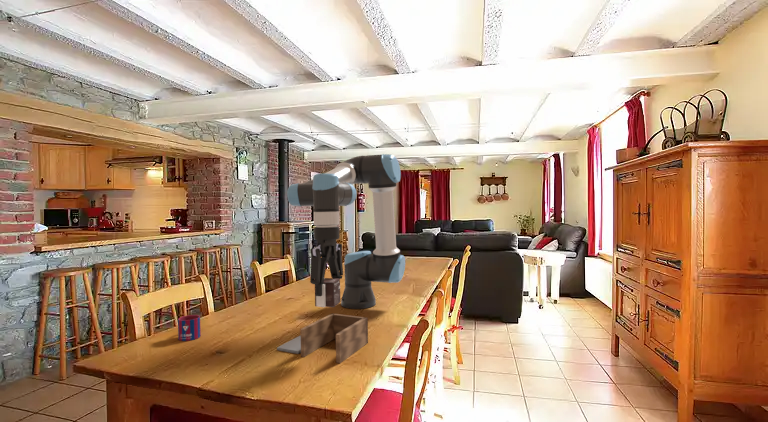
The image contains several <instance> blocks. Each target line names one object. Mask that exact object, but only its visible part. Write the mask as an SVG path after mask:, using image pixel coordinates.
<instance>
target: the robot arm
mask: <svg viewBox="0 0 768 422" xmlns="http://www.w3.org/2000/svg"><path fill="white" fill-rule="evenodd" d="M401 175H402V174H401V167H400V163H399V161H398V158H397V157H396V156H395V155H394V154H390V153H389V154H387V153H386V154H385V153H382V154H369V155H368V154H367V155H359V156H354V157H351V158H349V159H346V160H344V161H342V162H339V163H338V164H337V165H336V166H335V167H334V168H333V169H331V170H329V171H327V172H324V173H317V174H314V175H313V177H312V178H311V179H310V180H308V181H305V182H303V183H300V182H298V183H292V184H290V185H289V186H288V188H287V192H286V196H287V201H288V203H289V205H291V206H293V207H300V208H301V207H313V225H314V228H313V239H314V240H315V241H316V247H315V248H310V251H309V252H310V258H311V259H310V260H311V261H310V279H309V280H310V281H309V283H310V284H311V285H314V286H315V285H316V306H315V307H318V308H327V307H326V296H325V284H323V282H324V278H326V277H325V276H326V269H327V266H328V267H329V272H330V276H331V278H340V280H342V279H343V275H344V290H343V293H342V297H341V298H340V306H341V307H342V308H345V309H351V310H352V309H355V310H357V309H358V310H361V309H368V308H372V307H375V306H376V303H377V301H376V295H375V293H374V290H373V287H372V283H373V282H375V283H389V284H391V283H395V284H396V283H397V284H398V283H400V282H401V281H402V279H403V277H404V273H405V269H406V257H405V256H404V255H403V254H401V249H399V248H398V247H397V236H396V235H397V234H396V221H395V220H396V219H395V216H396V215H395V200H394V191H395V189H396V188H397V183H399V182H401ZM355 184H356V185H357V184H358V185H359V184H364V185H365V184H367V185H368V190H370V191H371V193H372V201H373V202H372V205H373V207H372V208H373V218H374V233H375V235H374V236H375V248H374V250H373V251H370V250H361V251H354V252H350V253H347V254H346V255H345V256H344V263H343V254H342V253H343V252H342V250H343V244H342V243H337V240H339V239H340V227H339V225H340V207H339V206H341V207H343V206H344V207H347V206H349V205H352V204H353V203H354V202H355V201H356V199H357V189H356V188H355V186H354V185H355ZM327 264H328V265H327ZM343 265H344V266H343ZM343 267H344V268H343Z"/></svg>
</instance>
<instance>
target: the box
mask: <svg viewBox="0 0 768 422" xmlns="http://www.w3.org/2000/svg"><path fill="white" fill-rule="evenodd" d="M323 284H325V296H326V307H325V308H335V307H336V306H338V305H339V304H341V279H340V278H332V277H331V278H328V277H324V282H323ZM314 306H315V307H316V285H315V284H314Z"/></svg>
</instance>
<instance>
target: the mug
mask: <svg viewBox="0 0 768 422" xmlns="http://www.w3.org/2000/svg"><path fill="white" fill-rule="evenodd" d="M201 330H202V329H201V315H200V314H189V315H183V316H181V317H179V318H178V319H177V334H178V335H177V336H178V338H177V339H178V341H181V342H189V341H194V340H197V339H199V338H200V337H201V335H202V334H201Z"/></svg>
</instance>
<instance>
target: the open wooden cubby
mask: <svg viewBox="0 0 768 422" xmlns="http://www.w3.org/2000/svg"><path fill="white" fill-rule="evenodd" d="M368 320H369V319H368V317H365V316H356V315H350V314H349V315H347V314H341V313H340V314H339V313H330V314H328V315H326V316H324V317H322V318H320V319H318V320H316V321H314V322H312V323H310V324H308V325H306V326H303V327H302V328H300V335H301V353H300V357H303V358H305V357H307V356H308V355H310V354H311V353H312V354H313V352H314V351H316V350H318V349H319V348H322V347H323V346H325V345H326V344H327V343H330V342H331V341H333V340H335V363H336V364H342V363H343V362H345V360H347V359H348V358H349V357H351V356H352V355H354V354H355V353H357V352H358V351H359V350H360V349H362V348H363V347H364V346H366V345H367V344H369V325H368V323H369V321H368Z"/></svg>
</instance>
